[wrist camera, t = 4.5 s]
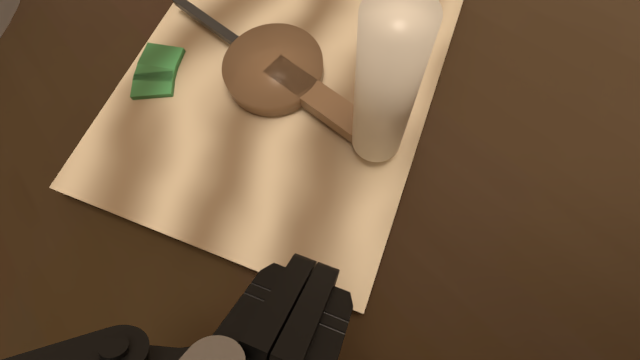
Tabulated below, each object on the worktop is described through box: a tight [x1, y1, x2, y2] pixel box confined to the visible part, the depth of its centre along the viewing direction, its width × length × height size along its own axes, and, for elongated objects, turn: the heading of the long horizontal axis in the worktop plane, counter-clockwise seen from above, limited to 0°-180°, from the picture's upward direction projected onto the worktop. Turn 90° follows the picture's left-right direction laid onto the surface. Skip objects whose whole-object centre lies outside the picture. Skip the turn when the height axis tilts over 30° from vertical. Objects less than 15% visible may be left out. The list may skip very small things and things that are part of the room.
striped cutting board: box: [49, 0, 463, 314], centre depth 26 cm, size 22×26×2 cm
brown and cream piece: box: [173, 0, 443, 162], centre depth 20 cm, size 21×7×11 cm, turn 49°
